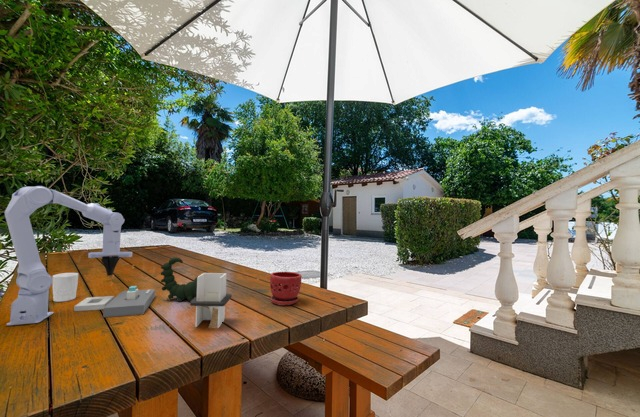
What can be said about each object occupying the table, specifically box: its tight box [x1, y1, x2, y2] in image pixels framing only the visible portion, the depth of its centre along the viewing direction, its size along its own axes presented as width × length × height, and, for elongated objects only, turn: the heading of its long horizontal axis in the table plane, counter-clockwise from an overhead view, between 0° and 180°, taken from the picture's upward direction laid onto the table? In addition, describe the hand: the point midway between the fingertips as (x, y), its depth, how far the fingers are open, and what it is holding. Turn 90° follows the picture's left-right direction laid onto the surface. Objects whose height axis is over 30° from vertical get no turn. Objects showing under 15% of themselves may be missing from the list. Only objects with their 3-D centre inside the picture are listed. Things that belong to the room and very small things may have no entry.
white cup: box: [51, 272, 79, 303], centre depth 115 cm, size 8×8×10 cm
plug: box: [127, 285, 139, 300], centre depth 110 cm, size 4×3×7 cm, turn 21°
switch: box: [102, 288, 156, 318], centre depth 110 cm, size 22×12×4 cm, turn 21°
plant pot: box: [269, 271, 302, 306], centre depth 120 cm, size 13×13×12 cm
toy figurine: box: [160, 256, 201, 302], centre depth 119 cm, size 9×19×25 cm
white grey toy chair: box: [189, 272, 233, 329], centre depth 95 cm, size 25×24×16 cm
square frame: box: [73, 295, 115, 312], centre depth 109 cm, size 11×9×2 cm
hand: (110, 275), depth 115 cm, fingers closed
